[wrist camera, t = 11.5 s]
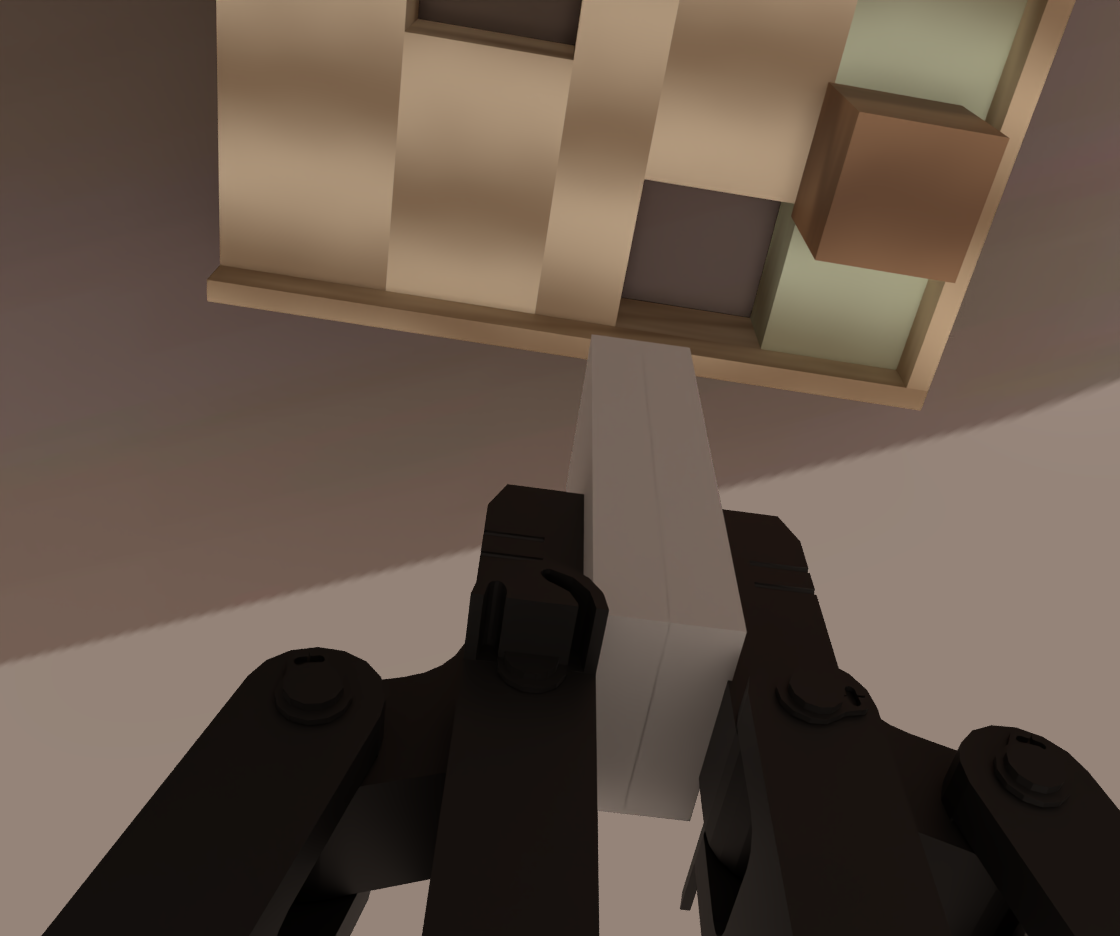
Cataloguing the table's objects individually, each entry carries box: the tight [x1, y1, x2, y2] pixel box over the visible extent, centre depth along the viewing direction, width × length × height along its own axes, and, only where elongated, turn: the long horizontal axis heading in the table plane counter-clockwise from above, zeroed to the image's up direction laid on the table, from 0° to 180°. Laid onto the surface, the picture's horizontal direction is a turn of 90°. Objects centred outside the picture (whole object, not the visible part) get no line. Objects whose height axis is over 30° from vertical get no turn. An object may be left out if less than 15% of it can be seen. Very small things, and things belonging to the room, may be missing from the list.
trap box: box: [207, 0, 1076, 410], centre depth 35 cm, size 16×26×4 cm, turn 81°
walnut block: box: [791, 82, 1010, 283], centre depth 33 cm, size 4×4×4 cm
